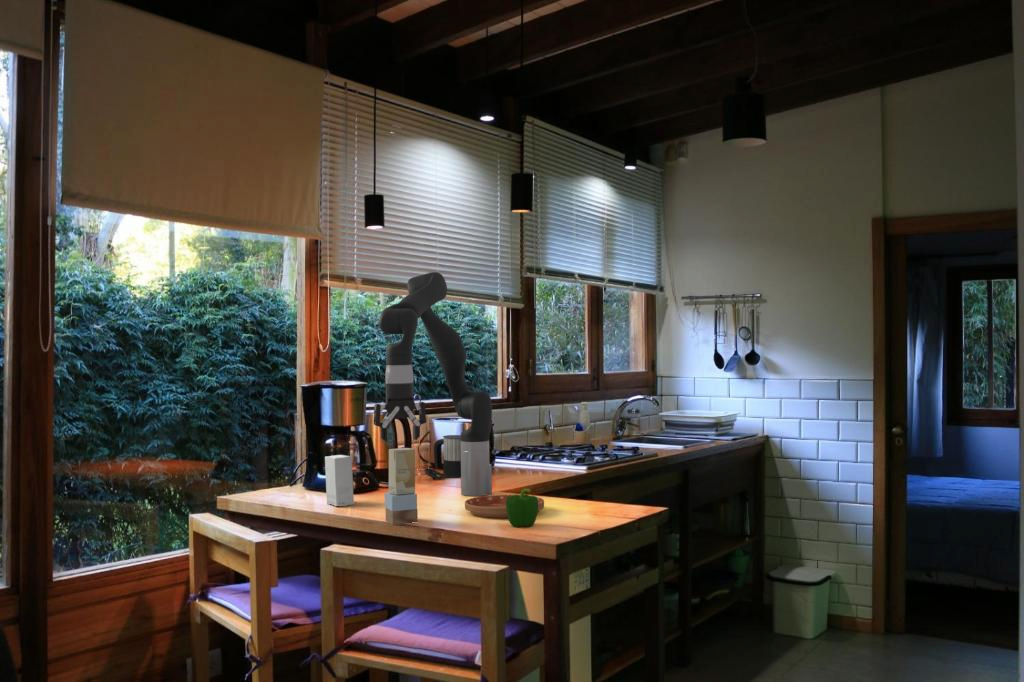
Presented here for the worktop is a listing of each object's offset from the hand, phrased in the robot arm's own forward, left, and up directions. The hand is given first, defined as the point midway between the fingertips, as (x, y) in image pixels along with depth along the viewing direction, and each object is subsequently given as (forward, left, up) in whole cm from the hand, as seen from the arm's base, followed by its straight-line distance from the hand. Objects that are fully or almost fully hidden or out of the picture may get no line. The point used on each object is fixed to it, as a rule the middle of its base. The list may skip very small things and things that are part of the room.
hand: (400, 440), depth 251 cm
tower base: (0, 0, -23) cm, 23 cm away
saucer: (-31, -1, -23) cm, 38 cm away
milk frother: (-37, -73, -23) cm, 85 cm away
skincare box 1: (+10, -34, -23) cm, 42 cm away
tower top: (0, 0, -19) cm, 19 cm away
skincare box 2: (0, 0, -15) cm, 15 cm away
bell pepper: (-28, +19, -23) cm, 41 cm away
